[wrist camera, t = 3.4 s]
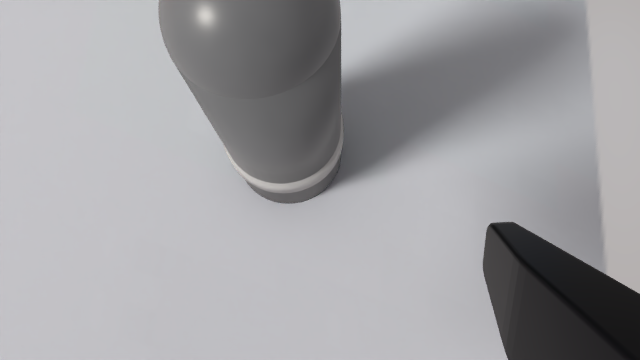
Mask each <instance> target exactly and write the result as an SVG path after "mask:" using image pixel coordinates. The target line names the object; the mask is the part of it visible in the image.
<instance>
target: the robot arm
mask: <svg viewBox="0 0 640 360" xmlns="http://www.w3.org/2000/svg"><path fill="white" fill-rule="evenodd" d="M483 272H484V277H485V281H486V284H487V288H488V292H489V295H490V299H491V303H492V306H493V310H494V314H495V317H496V321H497V325H498V328H499V332H500V336H501V339H502V343H503V346H504V349H505V352H506V355H507V358H508V360H640V294H639V293H637V292H635V291H634V290H632V289H630V288H628V287H627V286H625V285H623V284H621V283H620V282H618V281H616V280H614V279H613V278H611V277H609V276H607V275H606V274H604V273H602V272H600V271H599V270H597V269H595V268H593V267H592V266H590V265H588V264H586V263H584V262H583V261H581V260H579V259H577V258H576V257H574V256H572V255H570V254H569V253H567V252H565V251H563V250H562V249H560V248H558V247H556V246H555V245H553V244H551V243H549V242H548V241H546V240H544V239H542V238H541V237H539V236H537V235H535V234H534V233H532V232H530V231H528V230H526V229H525V228H523V227H521V226H519V225H518V224H516V223H514V222H500V223H491V224H490V225H489V226H488V228H487V232H486V240H485V248H484V257H483Z"/></svg>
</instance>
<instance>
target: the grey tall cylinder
mask: <svg viewBox="0 0 640 360" xmlns="http://www.w3.org/2000/svg"><path fill="white" fill-rule="evenodd" d="M159 24H160V28H161V33H162V37H163V40H164V43H165V46H166V48H167V50H168V52H169V55H170V57H171V59H172V60H173V62H174V64H175V65H176V67H177V69H178V70H179V72H180V73H181V75H182V77H183V78H184V80H185V82H186V83H187V85H188V87H189V88H190V90H191V92H192V93H193V95H194V96H195V98H196V100H197V101H198V103H199V105H200V106H201V108H202V110H203V111H204V113H205V115H206V116H207V118H208V119H209V121H210V123H211V124H212V126H213V128H214V129H215V131H216V133H217V134H218V136H219V138H220V139H221V141H222V142H223V145H224V148H225V151H226V153H227V155H228V157H229V159H230V160H231V162H232V164H233V165H234V167H235V168H236V170H237V171H238V173H239V174H240V175H241V176H242V177H243V178H244V179H245V180H246V182H247V183H248V185H249V186H250V187H251V188H252V189H253V190H254V191H255V192H256V193H258V194H259V195H261V196H262V197H264V198H266V199H268V200H271V201H274V202H278V203H298V202H303V201H306V200H309V199H311V198H313V197H315V196H317V195H318V194H320V193H321V192H322V191H323V190H325V189H326V188H327V187H328V186H329V185H330V183H331V182H332V180H333V179H334V177H335V175H336V174H337V171H338V168H339V165H340V161H341V151H342V146H343V133H344V127H343V118H342V113H341V9H340V0H159Z"/></svg>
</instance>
